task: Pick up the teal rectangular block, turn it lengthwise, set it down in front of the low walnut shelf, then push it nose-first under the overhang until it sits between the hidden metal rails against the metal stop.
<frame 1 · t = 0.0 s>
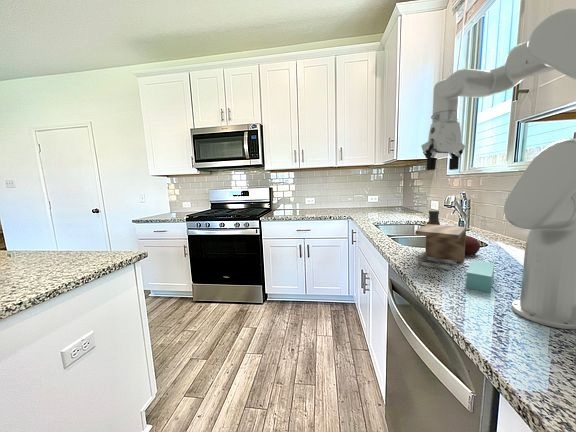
hand: (442, 169, 89), 37 cm above the worktop, tool pointing down, fingers open, 9 cm apart
teal rectangular block: (480, 282, 83), on the worktop
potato: (464, 254, 115), on the worktop
sauce bottle: (432, 253, 118), on the worktop
overhang shelf: (439, 264, 101), on the worktop
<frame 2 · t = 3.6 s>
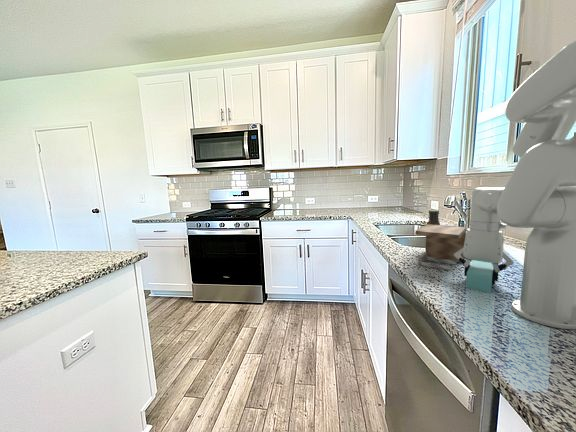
hand: (480, 279, 83), 1 cm above the worktop, tool pointing down, fingers closed on teal rectangular block, 6 cm apart
teal rectangular block: (480, 282, 83), on the worktop, touching gripper
everything else where it was.
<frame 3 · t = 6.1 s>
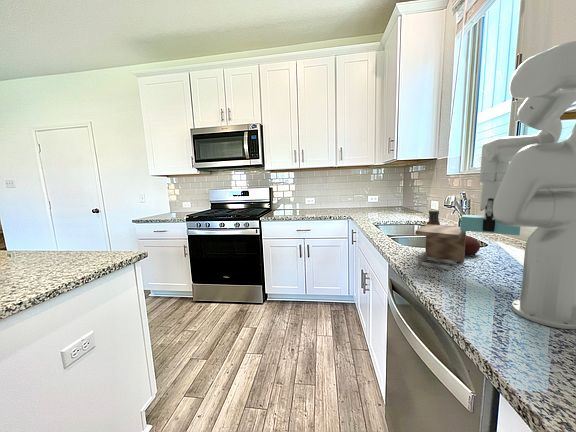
hand: (489, 229, 89), 16 cm above the worktop, tool pointing down, fingers closed on teal rectangular block, 6 cm apart
teal rectangular block: (488, 231, 89), point 15 cm above the worktop, touching gripper
everything else where it was.
when the fingers open (3 cm above the worktop, at t = 8.8 s): teal rectangular block drops 3 cm, resting on overhang shelf.
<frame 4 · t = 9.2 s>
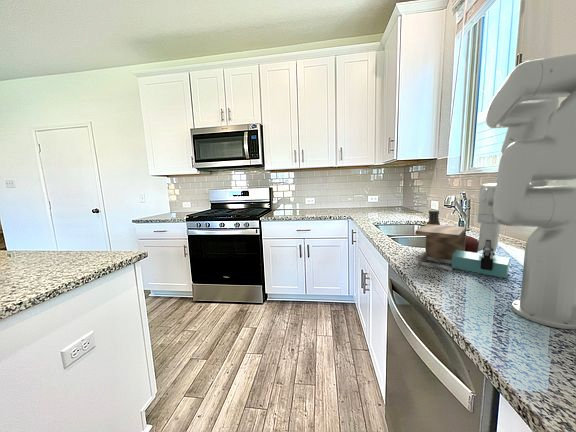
hand: (487, 265, 91), 2 cm above the worktop, tool pointing down, fingers open, 9 cm apart
teal rectangular block: (479, 269, 93), point 1 cm above the worktop, tilted 10°, touching overhang shelf
everything else where it was.
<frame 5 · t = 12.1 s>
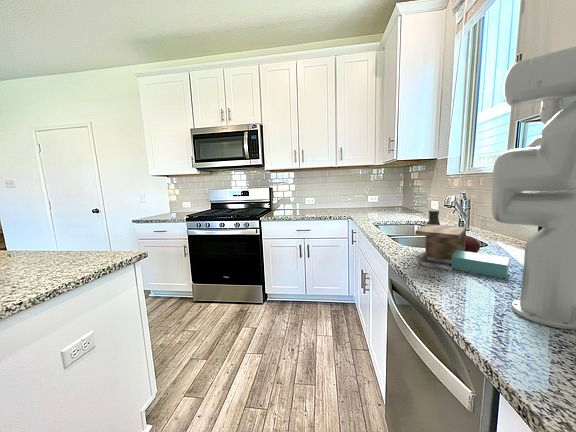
hand: (543, 236, 81), 15 cm above the worktop, tool pointing down, fingers closed
nothing on the worktop moved.
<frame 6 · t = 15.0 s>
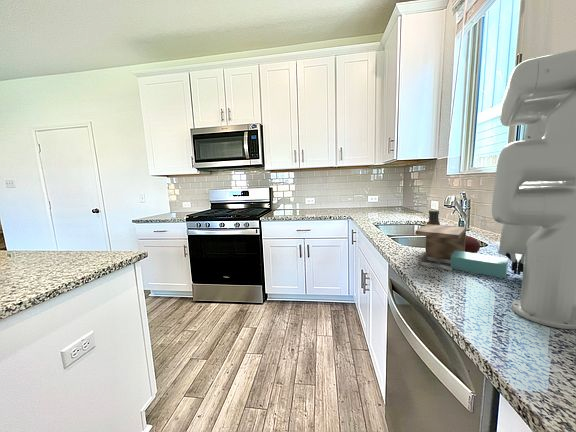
hand: (516, 273, 86), 2 cm above the worktop, tool pointing down, fingers closed
teal rectangular block: (477, 269, 93), on the worktop, tilted 10°, touching gripper
everything else where it was.
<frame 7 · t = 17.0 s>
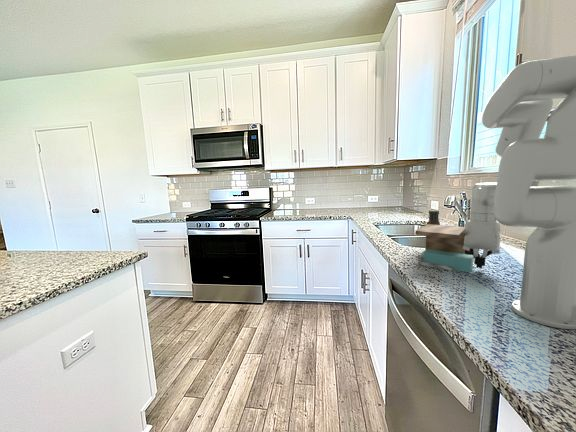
hand: (479, 266, 93), 2 cm above the worktop, tool pointing down, fingers closed
teal rectangular block: (446, 265, 100), on the worktop, touching gripper, overhang shelf
everything else where it was.
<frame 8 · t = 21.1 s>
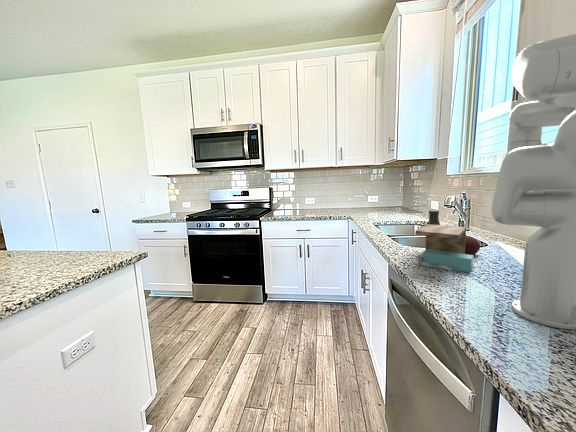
hand: (519, 203, 85), 25 cm above the worktop, tool pointing down, fingers closed
teal rectangular block: (446, 265, 99), on the worktop
everything else where it was.
at the end: teal rectangular block 0.5 cm from the target spot on the overhang shelf, point 0.0 cm above the overhang shelf's base; teal rectangular block tilted 0°; the gripper is holding nothing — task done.
